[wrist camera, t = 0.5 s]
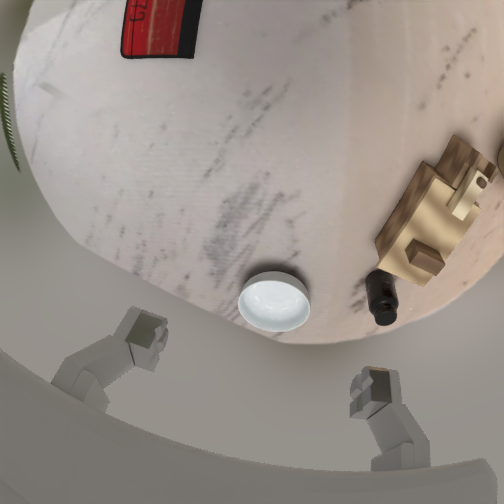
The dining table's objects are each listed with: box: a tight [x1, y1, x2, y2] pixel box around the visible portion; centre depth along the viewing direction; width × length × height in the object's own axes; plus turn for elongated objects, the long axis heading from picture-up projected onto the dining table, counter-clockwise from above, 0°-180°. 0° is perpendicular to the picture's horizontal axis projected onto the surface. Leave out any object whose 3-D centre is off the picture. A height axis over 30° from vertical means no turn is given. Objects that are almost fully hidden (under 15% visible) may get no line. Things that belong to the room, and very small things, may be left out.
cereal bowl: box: [238, 271, 311, 332], centre depth 68 cm, size 17×17×7 cm
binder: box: [120, 0, 203, 59], centre depth 36 cm, size 16×2×21 cm
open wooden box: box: [375, 135, 499, 259], centre depth 45 cm, size 28×12×11 cm, turn 162°
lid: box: [376, 176, 481, 287], centre depth 45 cm, size 21×13×6 cm, turn 162°
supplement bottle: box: [366, 270, 399, 326], centre depth 59 cm, size 7×7×12 cm
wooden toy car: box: [447, 167, 488, 221], centre depth 37 cm, size 9×3×4 cm, turn 162°
